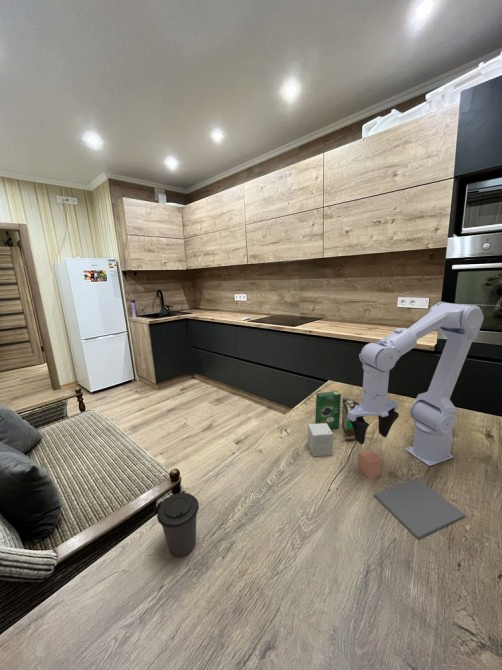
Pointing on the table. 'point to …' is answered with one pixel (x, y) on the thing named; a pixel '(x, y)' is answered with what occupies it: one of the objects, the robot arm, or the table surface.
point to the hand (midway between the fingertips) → (371, 438)
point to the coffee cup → (179, 523)
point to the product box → (320, 439)
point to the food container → (346, 424)
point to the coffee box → (328, 408)
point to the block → (369, 463)
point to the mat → (419, 507)
